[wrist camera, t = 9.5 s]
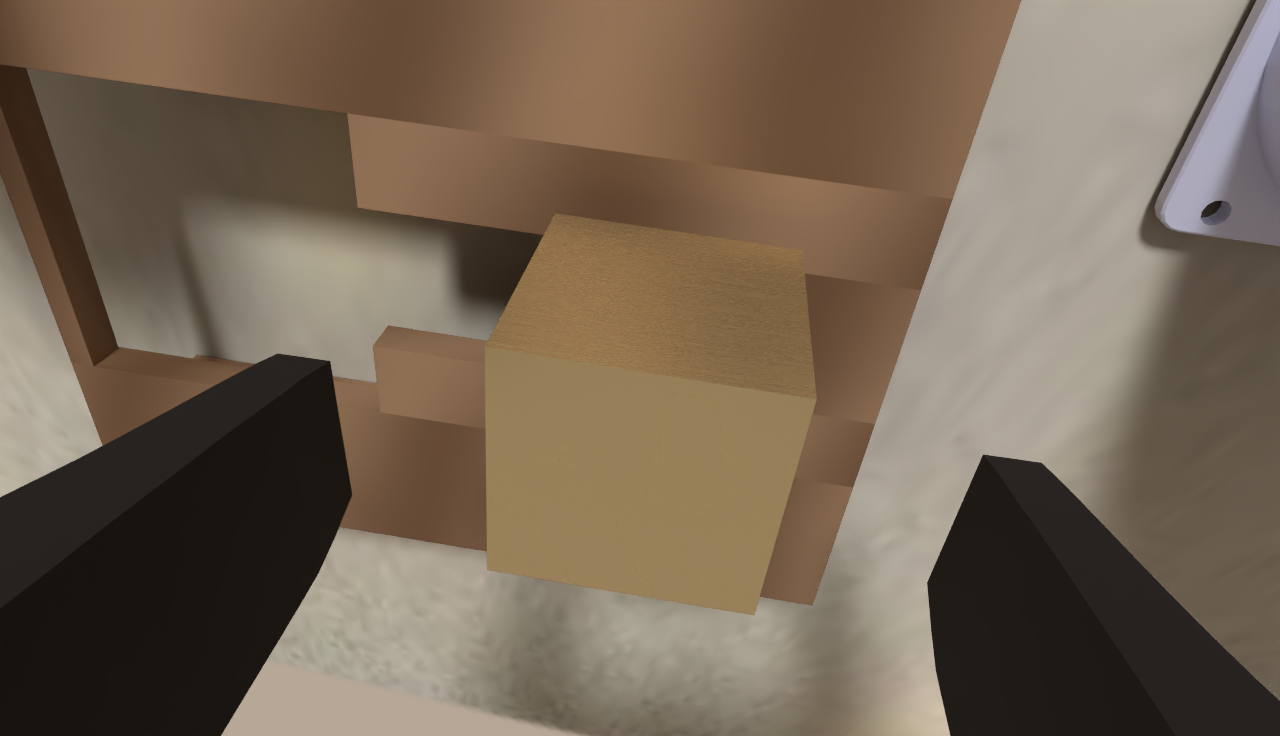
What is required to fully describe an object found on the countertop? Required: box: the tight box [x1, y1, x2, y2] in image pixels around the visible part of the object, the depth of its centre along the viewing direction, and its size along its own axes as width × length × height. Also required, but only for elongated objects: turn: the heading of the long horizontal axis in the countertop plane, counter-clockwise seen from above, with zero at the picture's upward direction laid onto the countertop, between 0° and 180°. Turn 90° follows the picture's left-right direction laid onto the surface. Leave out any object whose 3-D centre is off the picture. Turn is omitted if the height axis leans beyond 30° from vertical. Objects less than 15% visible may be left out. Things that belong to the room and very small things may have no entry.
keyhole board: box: [0, 0, 1021, 605], centre depth 17 cm, size 17×14×4 cm
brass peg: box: [485, 213, 817, 615], centre depth 14 cm, size 4×4×9 cm
